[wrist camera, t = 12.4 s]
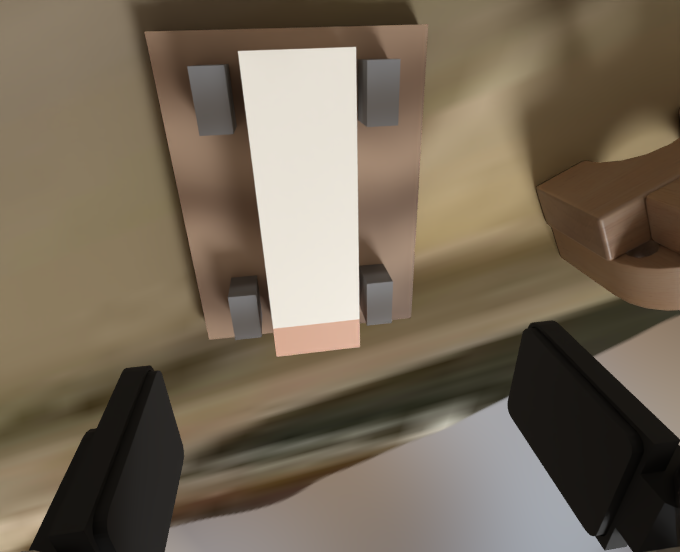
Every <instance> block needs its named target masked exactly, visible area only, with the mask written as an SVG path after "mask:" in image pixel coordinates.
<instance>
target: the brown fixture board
mask: <svg viewBox="0 0 680 552" xmlns="http://www.w3.org/2000/svg"><path fill="white" fill-rule="evenodd" d="M427 34H428V24H423V25H383V26H343V27H304V28H264V29H224V30H184V31H145V37H146V42H147V46H148V51H149V56H150V61H151V65H152V70H153V75H154V80H155V84H156V89H157V94H158V99H159V103H160V108H161V113H162V118H163V122H164V127H165V132H166V137H167V141H168V146H169V151H170V156H171V160H172V165H173V170H174V175H175V179H176V184H177V189H178V194H179V198H180V203H181V208H182V213H183V217H184V222H185V227H186V232H187V236H188V241H189V246H190V251H191V255H192V260H193V265H194V270H195V274H196V279H197V284H198V289H199V293H200V298H201V303H202V308H203V312H204V317H205V322H206V327H207V331H208V336H209V340H210V339H219V338H229V337H235V340H239V339H248V338H257V337H262V334H266V333H274V331H273V323H272V315H271V307H270V300H269V292H268V284H267V276H266V268H265V260H264V252H263V245H262V237H261V229H260V221H259V213H258V205H257V198H256V190H255V182H254V174H253V166H252V158H251V150H250V143H249V135H248V127H247V119H246V111H245V103H244V95H243V88H242V80H241V72H240V64H239V56H238V51H255V50H284V49H312V48H340V47H356V86H357V164H358V242H359V321H360V323H366V324H367V325H376V324H385V323H392V320H395V319H404V318H411V307H412V290H413V273H414V256H415V239H416V222H417V205H418V188H419V171H420V154H421V137H422V120H423V103H424V86H425V68H426V51H427Z"/></svg>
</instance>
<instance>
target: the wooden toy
mask: <svg viewBox="0 0 680 552" xmlns="http://www.w3.org/2000/svg"><path fill="white" fill-rule="evenodd" d="M679 118H680V108H679ZM536 190H537V193H538V197H539V200H540V203H541V206H542V209H543V213H544V216H545V219H546V222H547V224H548V225H550V226H551V227H552V230H553V233H554V236H555V240H556V243H557V246H558V249H559V253H560V256H561V257H562V258H563V259H564V260H566V261H567V262H569V263H570V264H571V265H573V266H574V267H576V268H577V269H578V270H580V271H581V272H583V273H584V274H586V275H587V276H588V277H590V278H591V279H593V280H594V281H595V282H597V283H598V284H600V285H601V286H603V287H604V288H605V289H607V290H608V291H610V292H611V293H612V294H614V295H616V296H617V297H619V298H621V299H623V300H625V301H627V302H628V303H631V304H635V305H638V306H641V307H645V308H650V309H659V310H680V138H678V139H677V140H676V141H674V142H673V143H671V144H669V145H667V146H665V147H662V148H660V149H658V150H655V151H653V152H651V153H649V154H646V155H642V156H638V157H634V158H630V159H626V160H622V161H612V162H602V163H598V162H591V161H582V162H580V163H578V164H577V165H575V166H573V167H571V168H569V169H568V170H566V171H564V172H562V173H560V174H559V175H557V176H555V177H553V178H551V179H550V180H548V181H546V182H544V183H543V184H541V185H539V186H538V187H537V188H536Z"/></svg>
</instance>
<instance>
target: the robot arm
mask: <svg viewBox="0 0 680 552" xmlns="http://www.w3.org/2000/svg"><path fill="white" fill-rule="evenodd" d="M508 411H509V414H510V416H511V418H512V419H513V421H514V422H515V424H516V425H517V427H518V428H519V430H520V431H521V433H522V434H523V436H524V437H525V439H526V440H527V442H528V443H529V445H530V447H531V448H532V450H533V451H534V453H535V454H536V456H537V457H538V459H539V460H540V462H541V463H542V465H543V466H544V468H545V469H546V471H547V472H548V474H549V476H550V477H551V478H552V480H553V482H554V483H555V484H556V486H557V488H558V489H559V491H560V492H561V494H562V495H563V497H564V498H565V500H566V501H567V503H568V505H569V506H570V508H571V509H572V511H573V512H574V514H575V515H576V517H577V518H578V520H579V521H580V523H581V524H582V526H583V527H584V529H585V530H586V531H587V533H589V534H590V535H591V536H595V537H596V538H597V539H598V541H599V543H600V544H601V546H602V547H603V549H604V550H609V549H615V548H621V547H626V546H627V545H628V546H629V547H630V548H631V550H632V551H633V552H680V446H679V445H678V444H679V442H680V439H679V438H678V437H677V436H676V435H675V434H674V433H673V432H672V431H670V430H669V429H668V428H667V427H666V426H665V425H664V424H663V423H662V422H661V421H660V420H659V419H658V418H657V417H656V416H655V415H654V414H653V413H652V412H651V411H649V410H648V409H647V408H646V407H645V406H644V405H643V404H642V403H641V402H640V401H639V400H638V399H637V398H636V397H635V396H634V395H633V394H632V393H631V392H629V390H627V389H626V388H625V387H624V386H623V385H622V384H621V383H620V382H619V381H618V380H617V379H616V378H615V377H614V376H613V375H612V374H611V373H610V372H609V371H608V370H606V369H605V368H604V367H603V366H602V365H601V364H600V363H599V362H598V361H597V360H596V359H595V358H594V357H593V356H592V355H591V354H590V353H589V352H588V351H587V350H586V349H584V348H583V347H582V346H581V345H580V344H579V343H578V342H577V341H576V340H575V339H574V338H573V337H572V336H571V335H570V334H569V333H568V332H567V331H566V330H565V329H563V328H562V327H561V326H560V325H559V324H558V323H557V322H555V321H543V322H534V323H531V324H530V325H529V327H528V329H525V330H524V331H523V334H522V339H521V343H520V348H519V353H518V357H517V362H516V366H515V371H514V376H513V380H512V385H511V389H510V394H509V399H508ZM183 460H184V450H183V444H182V441H181V438H180V434H179V431H178V427H177V424H176V420H175V417H174V414H173V410H172V407H171V403H170V400H169V397H168V393H167V390H166V386H165V383H164V380H163V376H162V373H161V372H160V371H154V370H153V368H152V367H151V366H141V367H132V368H126V369H124V370H123V372H122V374H121V376H120V378H119V380H118V383H117V385H116V387H115V389H114V391H113V394H112V396H111V398H110V400H109V402H108V405H107V407H106V409H105V411H104V413H103V416H102V418H101V420H100V422H99V424H98V427H97V428H96V429H90V430H89V431H87V432H86V434H85V435H84V437H83V438H82V440H81V442H80V445H79V447H78V449H77V451H76V453H75V455H74V457H73V459H72V461H71V463H70V465H69V468H68V470H67V472H66V474H65V476H64V478H63V480H62V482H61V484H60V486H59V488H58V491H57V493H56V495H55V497H54V499H53V501H52V503H51V505H50V507H49V509H48V511H47V514H46V516H45V518H44V520H43V522H42V524H41V526H40V528H39V530H38V532H37V534H36V537H35V539H34V541H33V543H32V545H31V547H30V549H29V551H21V552H165V547H166V542H167V537H168V533H169V528H170V523H171V518H172V513H173V509H174V504H175V499H176V494H177V489H178V485H179V480H180V475H181V470H182V465H183Z"/></svg>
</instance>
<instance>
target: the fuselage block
mask: <svg viewBox="0 0 680 552" xmlns="http://www.w3.org/2000/svg"><path fill="white" fill-rule="evenodd" d="M238 56H239V64H240V72H241V80H242V88H243V95H244V103H245V111H246V119H247V127H248V135H249V143H250V150H251V158H252V166H253V174H254V182H255V190H256V198H257V205H258V213H259V221H260V229H261V237H262V245H263V252H264V260H265V268H266V276H267V284H268V292H269V300H270V307H271V315H272V323H273V331H274V339H275V347H276V355H277V357H278V356H287V355H295V354H304V353H312V352H321V351H329V350H338V349H346V348H355V347H360V321H359V242H358V164H357V86H356V47H340V48H312V49H284V50H255V51H238Z"/></svg>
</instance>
